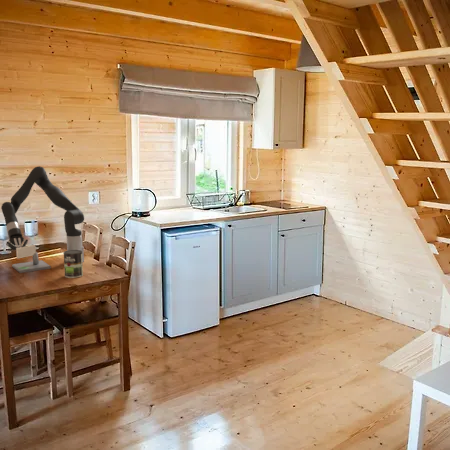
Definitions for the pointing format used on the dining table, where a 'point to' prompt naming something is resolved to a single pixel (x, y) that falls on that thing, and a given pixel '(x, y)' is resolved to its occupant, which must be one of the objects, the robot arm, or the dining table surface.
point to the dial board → (30, 266)
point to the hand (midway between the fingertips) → (20, 254)
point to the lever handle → (28, 253)
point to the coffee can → (73, 263)
